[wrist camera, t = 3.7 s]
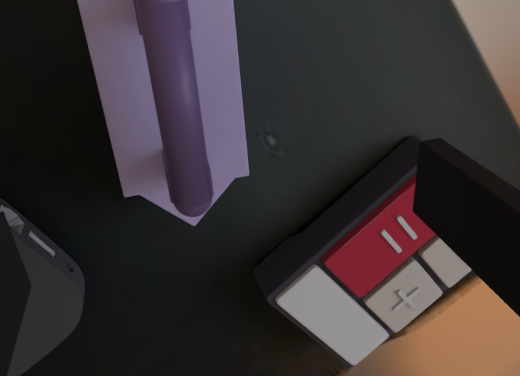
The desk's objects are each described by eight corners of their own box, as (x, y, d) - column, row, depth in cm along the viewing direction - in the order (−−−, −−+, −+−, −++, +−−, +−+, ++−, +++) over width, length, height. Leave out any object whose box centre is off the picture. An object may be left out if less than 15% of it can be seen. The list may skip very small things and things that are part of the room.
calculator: (508, 248, 36) (355, 377, 37) (470, 220, 39) (332, 339, 41) (444, 151, 30) (267, 307, 32) (407, 129, 34) (250, 270, 35)
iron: (78, -48, 24) (54, -38, 16) (208, -59, 25) (248, -56, 17) (135, 203, 31) (139, 300, 23) (235, 185, 32) (272, 272, 24)
